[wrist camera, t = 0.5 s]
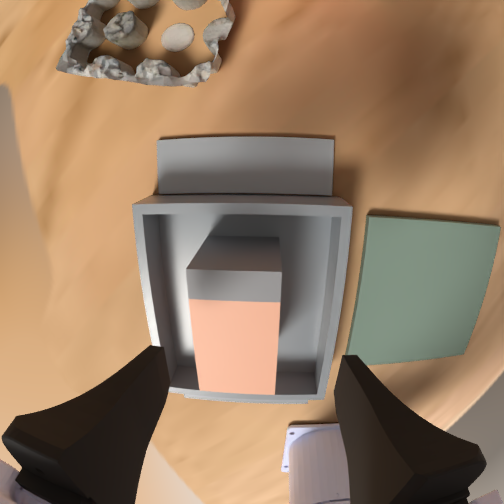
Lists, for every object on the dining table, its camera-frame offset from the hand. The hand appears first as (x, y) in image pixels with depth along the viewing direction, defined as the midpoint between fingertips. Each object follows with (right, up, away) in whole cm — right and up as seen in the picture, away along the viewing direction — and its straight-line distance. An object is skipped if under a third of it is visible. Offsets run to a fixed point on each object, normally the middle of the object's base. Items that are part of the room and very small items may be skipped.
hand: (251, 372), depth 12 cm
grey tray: (0, +2, +10) cm, 10 cm away
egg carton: (-6, +19, +5) cm, 21 cm away
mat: (+13, +1, +9) cm, 16 cm away
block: (-1, +2, +9) cm, 9 cm away
